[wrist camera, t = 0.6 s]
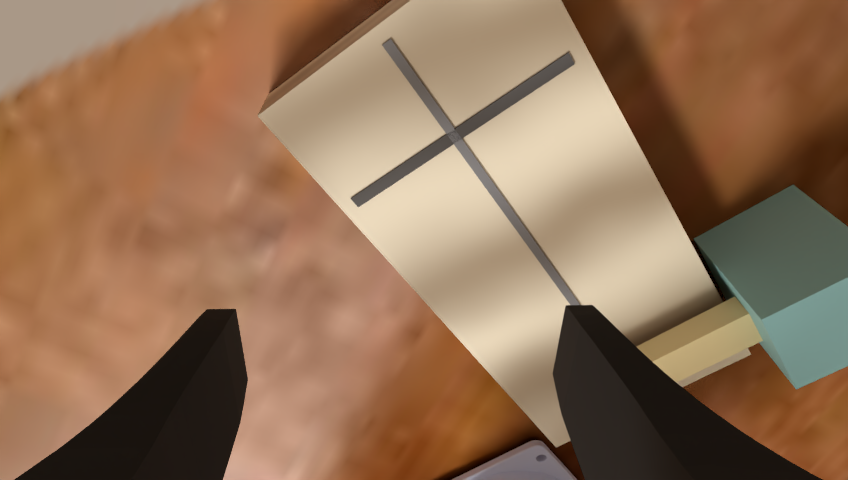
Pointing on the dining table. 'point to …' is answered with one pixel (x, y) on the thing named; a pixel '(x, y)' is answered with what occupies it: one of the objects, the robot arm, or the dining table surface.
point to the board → (495, 181)
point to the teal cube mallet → (769, 293)
